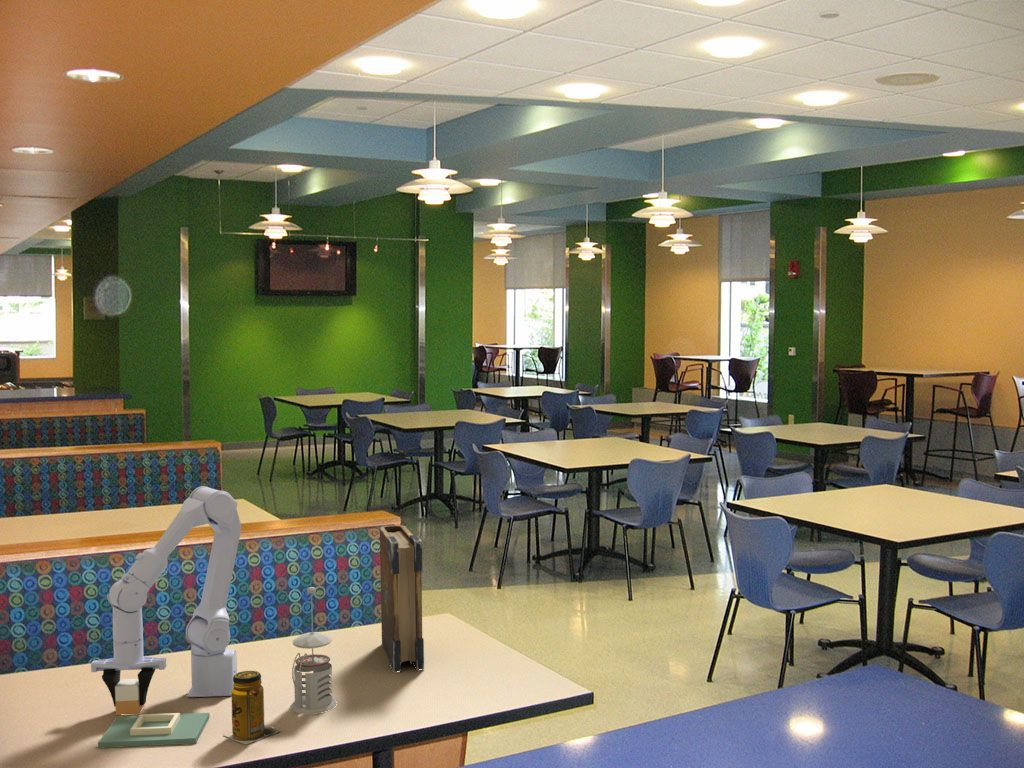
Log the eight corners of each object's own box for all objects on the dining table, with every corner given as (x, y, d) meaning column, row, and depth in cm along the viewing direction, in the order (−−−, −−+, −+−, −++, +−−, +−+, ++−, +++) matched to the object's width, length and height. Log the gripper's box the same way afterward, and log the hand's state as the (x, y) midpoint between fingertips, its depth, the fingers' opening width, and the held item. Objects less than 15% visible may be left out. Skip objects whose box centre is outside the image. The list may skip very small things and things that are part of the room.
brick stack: (144, 706, 214) (143, 678, 214) (138, 714, 210) (137, 685, 210) (122, 707, 214) (121, 679, 214) (115, 715, 210) (115, 686, 209)
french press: (346, 699, 217) (344, 583, 216) (318, 719, 206) (316, 597, 205) (305, 694, 221) (302, 579, 219) (275, 714, 210) (273, 593, 208)
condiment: (223, 736, 199) (221, 675, 198) (259, 722, 205) (258, 663, 205) (245, 745, 194) (244, 683, 193) (282, 732, 201) (281, 671, 200)
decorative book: (424, 670, 236) (422, 540, 234) (393, 673, 234) (391, 542, 232) (406, 640, 258) (405, 521, 257) (378, 642, 256) (376, 523, 255)
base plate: (209, 717, 208) (209, 706, 208) (196, 743, 195) (195, 731, 195) (117, 721, 206) (117, 710, 206) (98, 747, 194) (97, 736, 193)
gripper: (85, 646, 206) (87, 713, 207) (159, 643, 208) (161, 709, 209) (96, 636, 213) (98, 700, 214) (168, 633, 215) (169, 697, 216)
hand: (130, 704), depth 212 cm, fingers closed on brick stack, 4 cm apart
